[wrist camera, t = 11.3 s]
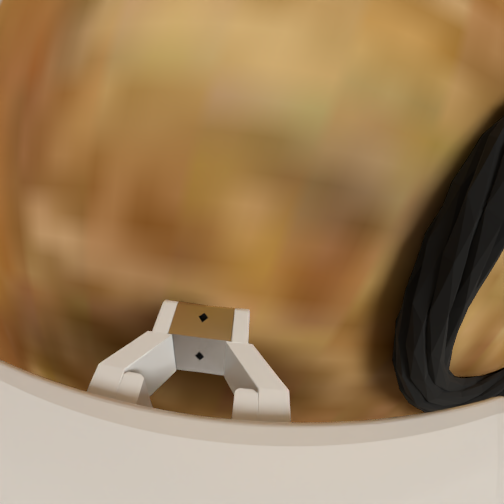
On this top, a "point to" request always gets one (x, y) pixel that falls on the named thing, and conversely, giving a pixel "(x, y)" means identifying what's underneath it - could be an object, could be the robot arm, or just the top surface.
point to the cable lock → (452, 283)
